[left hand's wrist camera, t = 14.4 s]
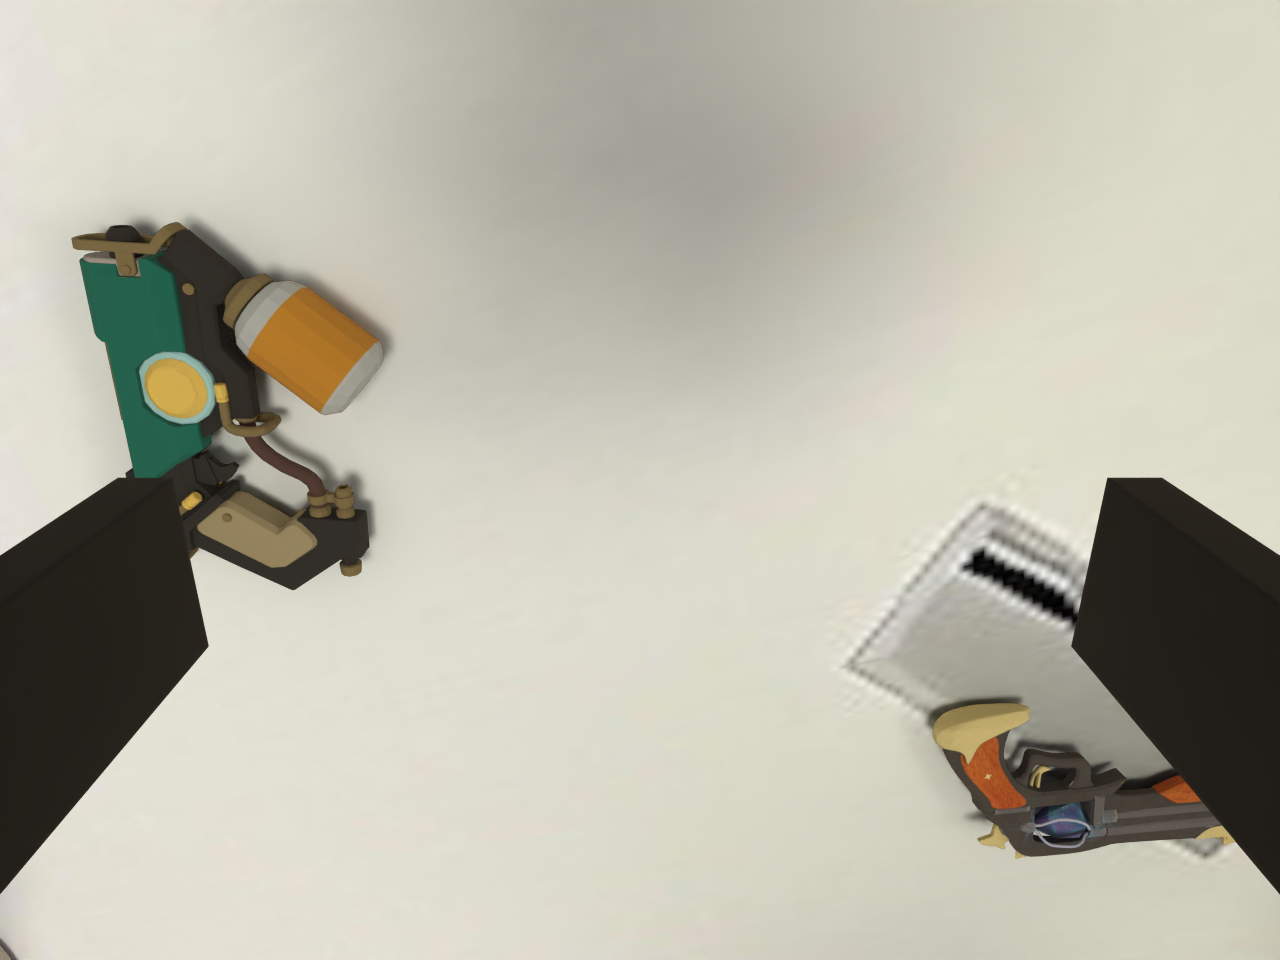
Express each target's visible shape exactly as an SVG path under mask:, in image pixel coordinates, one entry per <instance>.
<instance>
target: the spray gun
mask: <svg viewBox="0 0 1280 960" xmlns="http://www.w3.org/2000/svg"><path fill="white" fill-rule="evenodd" d="M71 239H72V244H73V248H74V249H77V250H91V251H107V252H94V253H89V254H86V255H84V257H83V258H81V259H80V266H81V271H82V275H83V280H84V285H85V290H86V294H87V299H88V304H89V309H90V313H91V318H92V323H93V327H94V332H95V334H96V336H97V337H98V338H99V339H100V340H101V341H102V342H105V345H106V350H107V355H108V359H109V364H110V368H111V373H112V378H113V382H114V387H115V392H116V396H117V401H118V405H119V410H120V415H121V419H122V420H123V424H124V428H125V433H126V438H127V442H128V447H129V452H130V456H131V461H132V466H133V468H132V469H130V470H129V471H128V472H126V478H173V482H174V487H175V491H176V496H177V501H178V505H179V510H180V515H181V519H182V524H183V529H184V533H185V538H186V543H187V547H188V552H189V557H190V558H192V556H193V555H194V554H195V553H196V552H197V551H198V549H199V548H201V549H203V550H206V551H208V552H210V553H212V554H214V555H216V556H218V557H220V558H223V559H225V560H227V561H229V562H231V563H233V564H235V565H237V566H240V567H242V568H244V569H246V570H249V571H251V572H253V573H255V574H257V575H260V576H262V577H264V578H266V579H269V580H271V581H273V582H275V583H278V584H280V585H282V586H284V587H286V588H289V589H291V590H295V589H297V588H298V587H300V586H301V585H303V584H304V583H306V582H307V581H309V580H310V579H312V578H313V577H315V576H316V575H318V574H319V573H321V572H322V571H324V570H326V569H327V568H329V567H330V566H332V565H333V564H335V563H336V562H338V561H339V560H342V561H341V562H340V569H341V573H342V574H343V575H344V576H355V575H358V574H359V573H360V572H361V570H362V561H361V560H360V559H358V558H361V557H362V556H363V554H364V553H365V552H366V550H367V549H368V547H369V535H368V524H367V513H366V511H365V510H355V509H354V508H353V507H352V505H353V503H354V502H355V501H354V493H353V492H352V490H351V487H350V486H348V485H340V486H338V487H337V488H336V489H335V493H331V492H328V490H327V489H325V487H324V485H323V483H322V481H321V479H320V478H319V477H318V476H317V475H316V474H315V473H314V472H313V471H311V470H310V469H308V468H306V467H304V466H302V465H300V464H297V463H295V462H293V461H291V460H289V459H287V458H286V457H284V456H282V455H281V454H279V453H277V452H276V451H275V450H274V449H272V448H271V447H270V446H269V445H268V444H267V443H266V442H265V441H264V440H263V439H262V437H261V436H264V435H266V434H267V433H269V432H271V431H272V430H274V429H275V428H276V427H277V426H278V425H279V423H280V422H281V418H280V416H279V415H277V414H274V413H266V412H260V408H259V401H258V393H257V386H256V379H255V372H254V368H253V367H252V366H251V364H250V363H249V362H248V361H247V360H246V359H245V357H244V356H243V355H242V354H241V353H240V352H239V350H238V349H237V348H236V347H235V346H234V345H233V343H232V342H231V340H230V335H229V330H228V326H229V327H231V328H232V329H235V336H236V344H237V345H238V347H239V348H240V349H241V351H242V352H243V353H244V354H245V355H246V357H247V358H248V359H249V360H250V361H251V362H253V363H254V364H255V365H257V366H258V367H259V368H261V369H262V370H263V371H265V372H266V373H267V374H269V375H270V376H271V377H273V378H274V379H275V380H277V381H278V382H279V383H281V384H282V385H283V386H285V387H286V388H287V389H289V390H290V391H291V392H293V393H294V394H295V395H297V396H298V397H299V398H301V399H302V400H303V401H305V402H306V403H307V404H309V405H310V406H311V407H313V408H314V409H315V410H317V411H318V412H319V413H320V414H323V415H328V414H334V413H340V412H343V411H344V410H345V409H346V408H347V407H348V405H349V404H350V403H351V402H352V401H353V400H354V399H355V398H356V396H357V395H358V394H359V393H360V391H361V390H362V389H363V388H364V387H365V385H366V384H367V383H368V381H369V380H370V379H371V378H372V376H373V375H374V373H375V372H376V371H377V369H378V368H379V366H380V365H381V363H382V361H383V351H382V345H381V343H380V341H379V340H377V339H376V338H375V337H373V336H372V335H371V334H369V333H368V332H367V331H365V330H364V329H363V328H361V327H360V326H359V325H357V324H356V323H355V322H353V321H352V320H351V319H349V318H348V317H347V316H345V315H344V314H343V313H341V312H340V311H339V310H337V309H336V308H335V307H333V306H332V305H331V304H329V303H328V302H327V301H325V300H324V299H323V298H321V297H320V296H318V295H317V294H316V293H314V292H313V291H312V290H310V289H309V288H308V287H306V286H304V285H301V284H299V283H297V282H294V281H292V280H291V281H281V282H273V280H272V279H271V278H270V277H268V276H267V275H266V274H258V275H256V276H253V277H251V278H249V279H244V278H243V276H242V275H241V274H240V273H239V271H238V270H237V269H236V268H235V267H233V266H232V265H231V264H230V263H229V262H227V261H226V260H225V259H224V258H222V257H221V256H220V255H219V254H218V253H216V252H215V251H214V250H213V249H212V248H210V247H209V246H208V245H207V244H206V243H204V242H203V241H202V240H201V239H200V238H198V237H197V236H196V235H195V234H194V233H192V232H191V231H190V230H187V228H185V227H184V226H183V225H181V224H180V223H178V222H174V223H171V224H168V225H166V226H164V227H163V228H161V229H160V230H159V231H158V232H157V233H156V235H155V236H140V233H139V232H138V231H137V230H136V229H135V228H133V227H132V226H129V225H115V226H111V227H109V229H108V231H107V232H106V233H94V234H84V235H80V236H76V237H73V238H71ZM161 247H168V249H167V251H166V252H164V251H162V252H158V250H159V249H160V248H161ZM157 252H158V253H157ZM224 303H225V309H224ZM234 418H236V420H237V421H238V422H239V424H240V425H235V424H234V423H233V421H232V420H233V419H234ZM255 422H265V423H264V424H262V425H260V426H256V423H255ZM222 426H223V427H224V428H225V429H226V430H227V432H229V433H231V434H234V435H237V436H242V437H244V438H245V440H246V442H247V443H248V445H249V446H250V448H251V449H252V450H253V451H254V452H255V453H256V454H257V455H258V456H259V457H260V458H261V459H262V460H263V461H265V462H267V463H268V464H270V465H271V466H273V467H274V468H276V469H278V470H279V471H281V472H283V473H285V474H287V475H289V476H292V477H294V478H296V479H298V480H300V481H302V482H303V483H304V484H306V485H307V486H308V488H309V490H310V491H309V492H308V493H307V497H308V503H309V504H311V505H312V506H310V507H308V508H307V509H302V510H300V511H299V512H298V513H297V514H296V515H295V516H293V517H292V518H291V517H289V516H288V515H286V514H284V513H282V512H281V511H279V510H277V509H275V508H274V507H272V506H270V505H268V504H267V503H265V502H263V501H261V500H260V499H258V498H256V497H254V496H253V495H251V494H249V493H247V492H243V491H237V490H238V489H239V488H240V482H239V481H237V480H231V481H230V482H229V483H228V484H226V485H225V486H224V487H223V488H219V487H218V486H219V485H221V484H222V482H223V481H226V480H228V479H229V478H231V477H232V476H233V475H234V474H235V472H236V471H237V469H238V467H239V465H238V464H237V463H235V462H233V463H231V464H223V463H221V462H220V461H218V460H217V459H216V458H215V457H213V456H212V454H211V453H210V452H209V451H206V452H204V453H203V454H202V455H201V454H200V451H202V450H203V449H204V448H206V447H207V446H208V445H210V444H211V442H212V440H211V433H213V432H215V431H216V430H218V429H219V428H221V427H222ZM327 503H335V505H336V506H337V507H338V508H331V506H330V505H329V504H327Z"/></svg>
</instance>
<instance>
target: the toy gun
mask: <svg viewBox="0 0 1280 960" xmlns="http://www.w3.org/2000/svg"><path fill="white" fill-rule="evenodd" d="M1029 715H1030V710H1029V707H1028V706H1024V705H1021V704H1016V703H997V704H977V705H970V706H964V707H960V708H956V709H953V710H950V711H948V712H945V713H944V714H942V715H941V716H940V717H939V718H938V719H937V721H936V722H935V724H934V727H933V738H934V740H935V742H936V743H937V744H938V745H939V746H940V747H941V748H943V751H944V753H945V756H946V758H947V760H948V762H949V763H950V765H951V767H952V769H953V770H954V771H955V773H956V774H957V776H958V777H959V778H960V780H961V781H962V782H963V783H964V785H965V786H966V787H967V788H968V790H969V791H970V792H971V795H972V801H973V803H974V804H975V805H976V807H977V808H978V809H979V810H981V811H982V812H983V813H984V815H985V816H986V817H987V818H988V819H989V820H990V821H991V822H993V823H994V824H993V827H992V831H991V833H990V834H989V835H986V836H982V837H979V838H977V839H978V841H979V842H980V843H981V844H982V845H986V846H997V847H999V848H1001V849H1005V845H1004V844H1005V842H1007V841H1009V842H1010V844H1011V845H1012V846H1013V848H1014V849H1015V850H1016V858H1021V857H1025V856H1030V857H1033V856H1048V855H1059V854H1069V853H1076V852H1082V851H1087V850H1091V849H1095V848H1099V847H1103V846H1106V845H1110V844H1115V843H1125V842H1138V841H1153V840H1168V839H1185V838H1194V839H1200V838H1213V837H1215V838H1217V839H1219V838H1222V844H1223V845H1225V844H1229V843H1233V842H1235V840H1234V839H1233V838H1232V837H1231V836H1230V834H1229V833H1228V832H1227V831H1226V830H1225V828H1224V827H1223V826H1222V825H1221V824H1220V823H1219V821H1218V820H1217V819H1216V818H1215V817H1214V815H1213V814H1212V813H1211V812H1210V811H1209V809H1208V808H1207V807H1206V806H1205V805H1204V803H1203V802H1202V801H1201V800H1200V799H1199V798H1198V796H1197V795H1196V794H1195V793H1194V792H1193V790H1192V789H1191V788H1190V787H1189V786H1188V784H1187V783H1186V782H1185V781H1184V780H1183V779H1182V777H1181V776H1180V775H1177V776H1174V777H1171V778H1169V779H1167V780H1165V781H1162V782H1160V783H1158V784H1155V785H1153V786H1152V787H1151V788H1147V789H1134V790H1118V789H1119V788H1120V787H1121V785H1122V784H1123V783H1124V782H1125V781H1126V778H1125V777H1124V776H1123V775H1122V774H1121V773H1120V772H1119V771H1118V770H1117V769H1116V768H1114V769H1111V770H1109V771H1106V772H1104V773H1101V774H1098V775H1093V776H1091V767H1090V765H1089V763H1088V762H1087V760H1086V759H1085V758H1084V757H1083V756H1082V755H1081V754H1079V753H1077V752H1071V753H1050V752H1044V751H1039V750H1035V749H1026V750H1025V752H1024V756H1023V760H1022V762H1021V765H1020V767H1019V768H1018V769H1017V771H1015V772H1013V773H1010V771H1009V770H1008V767H1007V765H1006V762H1005V760H1004V747H1005V742H1006V739H1007V736H1008V733H1009V732H1010V730H1011V729H1013V728H1015V727H1017V726H1019V725H1021V724H1023V723H1025V722H1026V721H1027V720H1028V719H1029ZM1035 765H1039V766H1038V767H1037V768H1036V769H1035V771H1034V772H1033V773H1032V775H1031V778H1030V780H1029V775H1030V773H1031V771H1032V769H1033V768H1034V767H1035ZM1048 766H1051V767H1057V768H1070V772H1069V773H1068V775H1067V776H1066V777H1065V778H1064V779H1063V780H1052V781H1040V780H1041V775H1042V773H1043V772H1045V771H1049V770H1051V769H1050V768H1049V767H1048ZM1036 775H1037V776H1036ZM1035 776H1036V781H1035V782H1034V779H1035ZM1028 781H1029V782H1028ZM1037 807H1043V808H1042V809H1041V810H1040V811H1039V812H1038V813H1037V814H1036V815H1035V808H1037ZM1036 829H1037V830H1039V831H1041V832H1043V833H1045V834H1047V835H1050V836H1041V834H1040V833H1039V832H1038V831H1037V830H1036ZM1033 832H1036V833H1037V835H1033Z"/></svg>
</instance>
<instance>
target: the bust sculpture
mask: <svg viewBox="0 0 1280 960" xmlns="http://www.w3.org/2000/svg"><path fill="white" fill-rule="evenodd" d="M0 960H11V958H10V957H9V956H8V954H7V953H6V952H5V951H4V949H3V948H2V947H1V946H0Z"/></svg>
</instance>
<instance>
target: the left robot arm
mask: <svg viewBox="0 0 1280 960" xmlns="http://www.w3.org/2000/svg"><path fill="white" fill-rule="evenodd" d="M208 646H209V645H208V641H207V636H206V631H205V627H204V622H203V617H202V613H201V608H200V603H199V599H198V594H197V589H196V585H195V580H194V575H193V571H192V566H191V561H190V557H189V552H188V547H187V543H186V538H185V533H184V529H183V524H182V519H181V515H180V510H179V505H178V501H177V496H176V491H175V487H174V482H173V478H117V479H115V480H114V481H112V482H111V483H109V484H108V485H106V486H105V487H103V488H102V489H100V490H99V491H97V492H96V493H94V494H93V495H91V496H90V497H88V498H87V499H85V500H84V501H82V502H81V503H79V504H78V505H76V506H75V507H73V508H72V509H70V510H68V511H67V512H65V513H64V514H62V515H61V516H59V517H58V518H56V519H55V520H53V521H52V522H50V523H49V524H47V525H46V526H44V527H43V528H41V529H40V530H38V531H37V532H35V533H34V534H32V535H31V536H29V537H28V538H26V539H25V540H23V541H22V542H20V543H18V544H17V545H15V546H14V547H12V548H11V549H9V550H8V551H6V552H5V553H3V554H2V555H0V894H1V893H2V891H3V890H4V889H5V888H6V887H7V886H8V884H9V883H10V882H11V881H12V880H13V878H14V877H15V876H16V875H17V874H18V872H19V871H20V870H21V869H22V868H23V867H24V865H25V864H26V863H27V862H28V861H29V859H30V858H31V857H32V856H33V855H34V853H35V852H36V851H37V850H38V849H39V847H40V846H41V845H42V844H43V843H44V842H45V840H46V839H47V838H48V837H49V836H50V834H51V833H52V832H53V831H54V830H55V828H56V827H57V826H58V825H59V824H60V823H61V821H62V820H63V819H64V818H65V817H66V815H67V814H68V813H69V812H70V811H71V809H72V808H73V807H74V806H75V805H76V803H77V802H78V801H79V800H80V799H81V798H82V796H83V795H84V794H85V793H86V792H87V790H88V789H89V788H90V787H91V786H92V784H93V783H94V782H95V781H96V780H97V779H98V777H99V776H100V775H101V774H102V773H103V771H104V770H105V769H106V768H107V767H108V765H109V764H110V763H111V762H112V761H113V759H114V758H115V757H116V756H117V755H118V754H119V752H120V751H121V750H122V749H123V748H124V746H125V745H126V744H127V743H128V742H129V740H130V739H131V738H132V737H133V736H134V735H135V733H136V732H137V731H138V730H139V729H140V727H141V726H142V725H143V724H144V723H145V721H146V720H147V719H148V718H149V717H150V715H151V714H152V713H153V712H154V711H155V710H156V708H157V707H158V706H159V705H160V704H161V702H162V701H163V700H164V699H165V698H166V696H167V695H168V694H169V693H170V692H171V690H172V689H173V688H174V687H175V686H176V685H177V683H178V682H179V681H180V680H181V679H182V677H183V676H184V675H185V674H186V673H187V671H188V670H189V669H190V668H191V667H192V666H193V664H194V663H195V662H196V661H197V660H198V658H199V657H200V656H201V655H202V654H203V652H204V651H205V650H206V649H207V648H208ZM1071 646H1072V648H1073V649H1074V650H1075V651H1076V652H1077V654H1078V655H1079V656H1080V657H1081V658H1082V660H1083V661H1084V662H1085V663H1086V664H1087V666H1088V667H1089V668H1090V669H1091V670H1092V671H1093V673H1094V674H1095V675H1096V676H1097V677H1098V679H1099V680H1100V681H1101V682H1102V683H1103V685H1104V686H1105V687H1106V688H1107V689H1108V690H1109V692H1110V693H1111V694H1112V695H1113V696H1114V698H1115V699H1116V700H1117V701H1118V702H1119V704H1120V705H1121V706H1122V707H1123V708H1124V710H1125V711H1126V712H1127V713H1128V714H1129V715H1130V717H1131V718H1132V719H1133V720H1134V721H1135V723H1136V724H1137V725H1138V726H1139V727H1140V729H1141V730H1142V731H1143V732H1144V733H1145V735H1146V736H1147V737H1148V738H1149V739H1150V740H1151V742H1152V743H1153V744H1154V745H1155V746H1156V748H1157V749H1158V750H1159V751H1160V752H1161V754H1162V755H1163V756H1164V757H1165V758H1166V759H1167V761H1168V762H1169V763H1170V764H1171V765H1172V767H1173V768H1174V769H1175V770H1176V771H1177V773H1178V774H1179V775H1180V776H1181V777H1182V779H1183V780H1184V781H1185V782H1186V783H1187V784H1188V786H1189V787H1190V788H1191V789H1192V790H1193V792H1194V793H1195V794H1196V795H1197V796H1198V798H1199V799H1200V800H1201V801H1202V802H1203V803H1204V805H1205V806H1206V807H1207V808H1208V809H1209V811H1210V812H1211V813H1212V814H1213V815H1214V817H1215V818H1216V819H1217V820H1218V821H1219V823H1220V824H1221V825H1222V826H1223V827H1224V828H1225V830H1226V831H1227V832H1228V833H1229V834H1230V836H1231V837H1232V838H1233V839H1234V840H1235V842H1236V843H1237V844H1238V845H1239V846H1240V847H1241V849H1242V850H1243V851H1244V852H1245V853H1246V855H1247V856H1248V857H1249V858H1250V859H1251V861H1252V862H1253V863H1254V864H1255V865H1256V867H1257V868H1258V869H1259V870H1260V871H1261V872H1262V874H1263V875H1264V876H1265V877H1266V878H1267V880H1268V881H1269V882H1270V883H1271V884H1272V886H1273V887H1274V888H1275V889H1276V890H1277V891H1278V893H1279V894H1280V555H1278V554H1277V553H1275V552H1274V551H1272V550H1271V549H1269V548H1268V547H1266V546H1265V545H1263V544H1262V543H1260V542H1258V541H1257V540H1255V539H1254V538H1252V537H1251V536H1249V535H1248V534H1246V533H1245V532H1243V531H1242V530H1240V529H1239V528H1237V527H1236V526H1234V525H1233V524H1231V523H1230V522H1228V521H1227V520H1225V519H1224V518H1222V517H1221V516H1219V515H1218V514H1216V513H1215V512H1213V511H1212V510H1210V509H1208V508H1207V507H1205V506H1204V505H1202V504H1201V503H1199V502H1198V501H1196V500H1195V499H1193V498H1192V497H1190V496H1189V495H1187V494H1186V493H1184V492H1183V491H1181V490H1180V489H1178V488H1177V487H1175V486H1174V485H1172V484H1171V483H1169V482H1168V481H1166V480H1165V479H1163V478H1107V482H1106V487H1105V491H1104V496H1103V501H1102V505H1101V510H1100V515H1099V519H1098V524H1097V529H1096V533H1095V538H1094V543H1093V547H1092V552H1091V557H1090V561H1089V566H1088V571H1087V575H1086V580H1085V585H1084V589H1083V594H1082V599H1081V603H1080V608H1079V613H1078V617H1077V622H1076V627H1075V631H1074V636H1073V641H1072V645H1071Z"/></svg>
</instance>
